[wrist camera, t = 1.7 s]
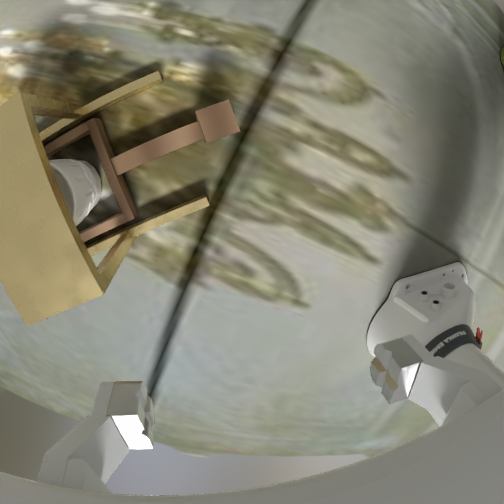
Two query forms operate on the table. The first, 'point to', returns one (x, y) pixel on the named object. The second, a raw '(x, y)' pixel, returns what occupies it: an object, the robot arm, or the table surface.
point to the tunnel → (55, 211)
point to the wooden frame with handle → (143, 154)
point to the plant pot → (502, 56)
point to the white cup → (77, 186)
